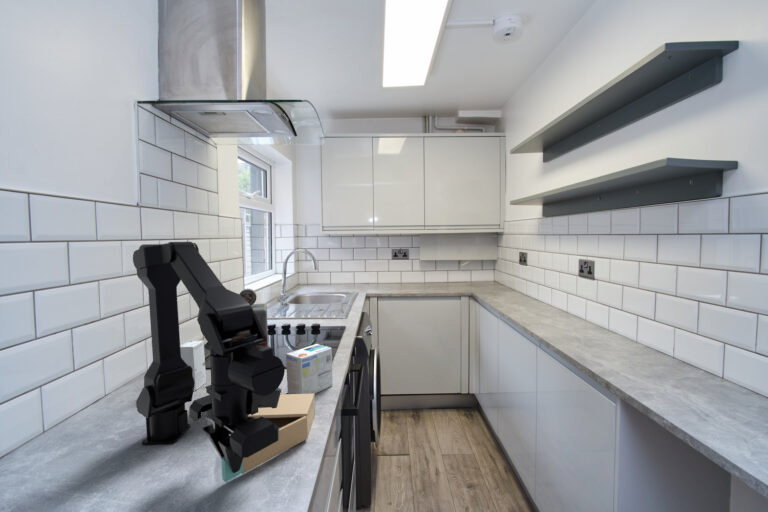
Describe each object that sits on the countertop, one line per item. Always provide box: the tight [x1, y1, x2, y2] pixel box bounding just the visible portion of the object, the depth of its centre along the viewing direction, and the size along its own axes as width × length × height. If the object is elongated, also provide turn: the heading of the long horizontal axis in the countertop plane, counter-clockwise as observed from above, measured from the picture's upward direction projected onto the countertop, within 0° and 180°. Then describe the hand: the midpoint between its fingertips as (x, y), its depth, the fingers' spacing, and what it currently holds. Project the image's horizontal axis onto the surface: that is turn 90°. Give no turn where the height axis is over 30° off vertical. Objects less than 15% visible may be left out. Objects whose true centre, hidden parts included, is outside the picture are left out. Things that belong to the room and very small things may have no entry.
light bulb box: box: [285, 343, 333, 394], centre depth 91 cm, size 11×7×11 cm, turn 141°
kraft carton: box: [248, 393, 316, 436], centre depth 73 cm, size 13×9×5 cm
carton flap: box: [221, 416, 309, 483], centre depth 62 cm, size 16×1×4 cm, turn 139°
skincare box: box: [180, 340, 207, 392], centre depth 94 cm, size 6×4×12 cm
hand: (233, 469), depth 57 cm, fingers closed
